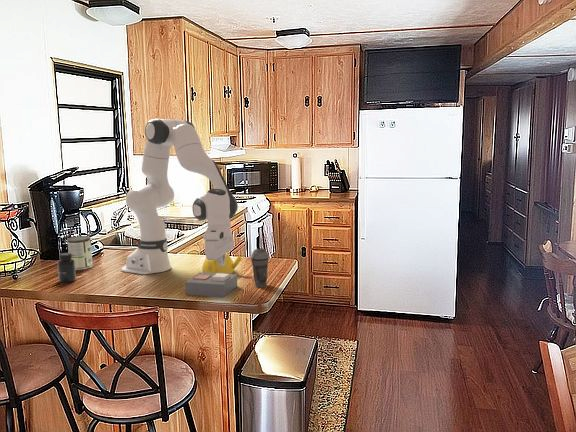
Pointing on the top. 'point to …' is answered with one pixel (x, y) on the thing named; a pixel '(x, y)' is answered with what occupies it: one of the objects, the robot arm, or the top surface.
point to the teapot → (228, 268)
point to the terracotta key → (202, 277)
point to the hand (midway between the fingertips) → (221, 265)
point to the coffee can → (80, 251)
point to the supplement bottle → (66, 268)
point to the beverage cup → (260, 266)
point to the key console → (211, 286)
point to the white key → (220, 277)
